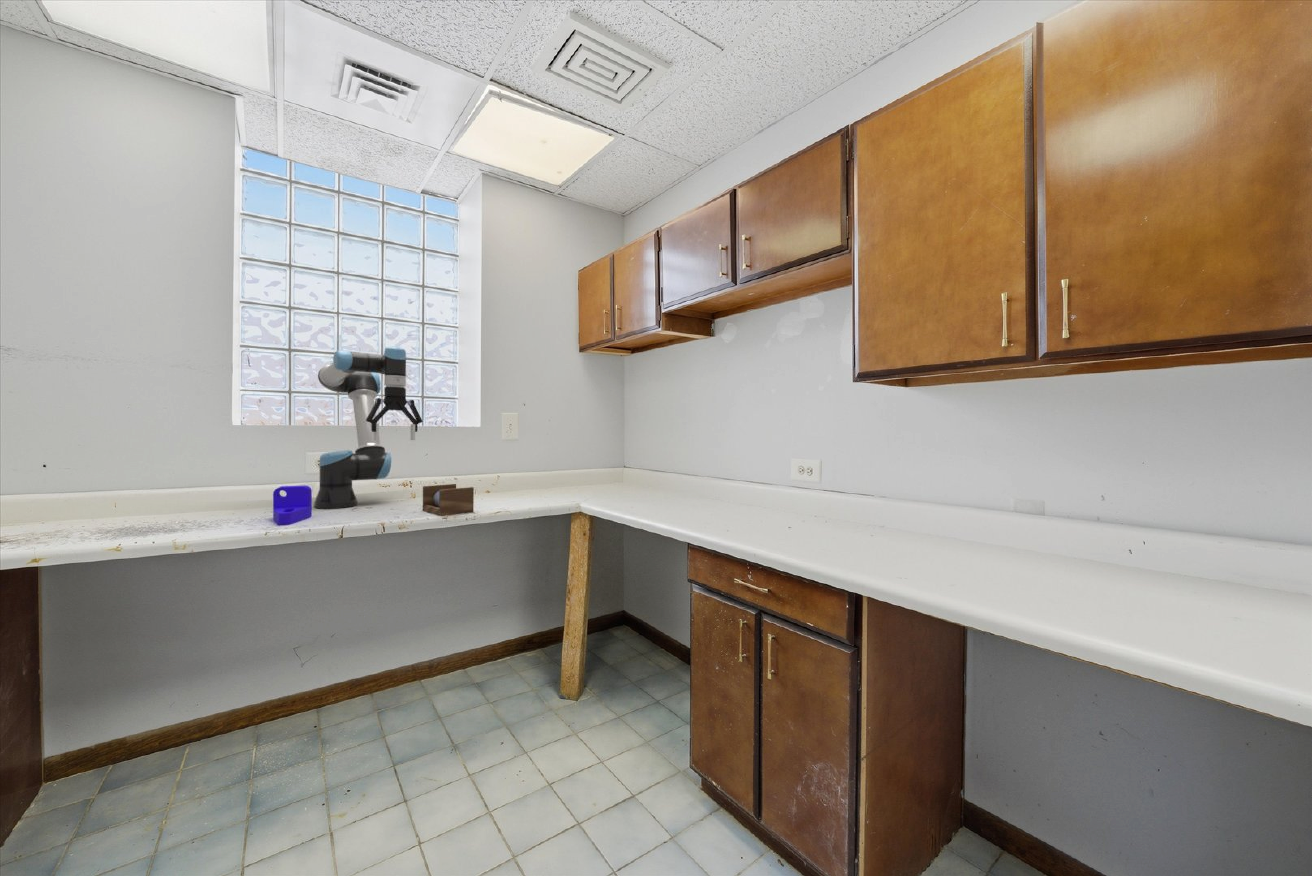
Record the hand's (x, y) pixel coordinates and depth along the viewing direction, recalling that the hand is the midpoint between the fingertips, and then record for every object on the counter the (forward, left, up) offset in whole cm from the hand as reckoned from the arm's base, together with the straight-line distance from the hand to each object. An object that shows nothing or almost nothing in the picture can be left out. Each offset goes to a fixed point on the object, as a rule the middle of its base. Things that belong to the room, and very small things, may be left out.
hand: (395, 440), depth 196 cm
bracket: (-7, -33, -29) cm, 45 cm away
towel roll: (+12, +16, -28) cm, 34 cm away
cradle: (+12, +16, -29) cm, 35 cm away
